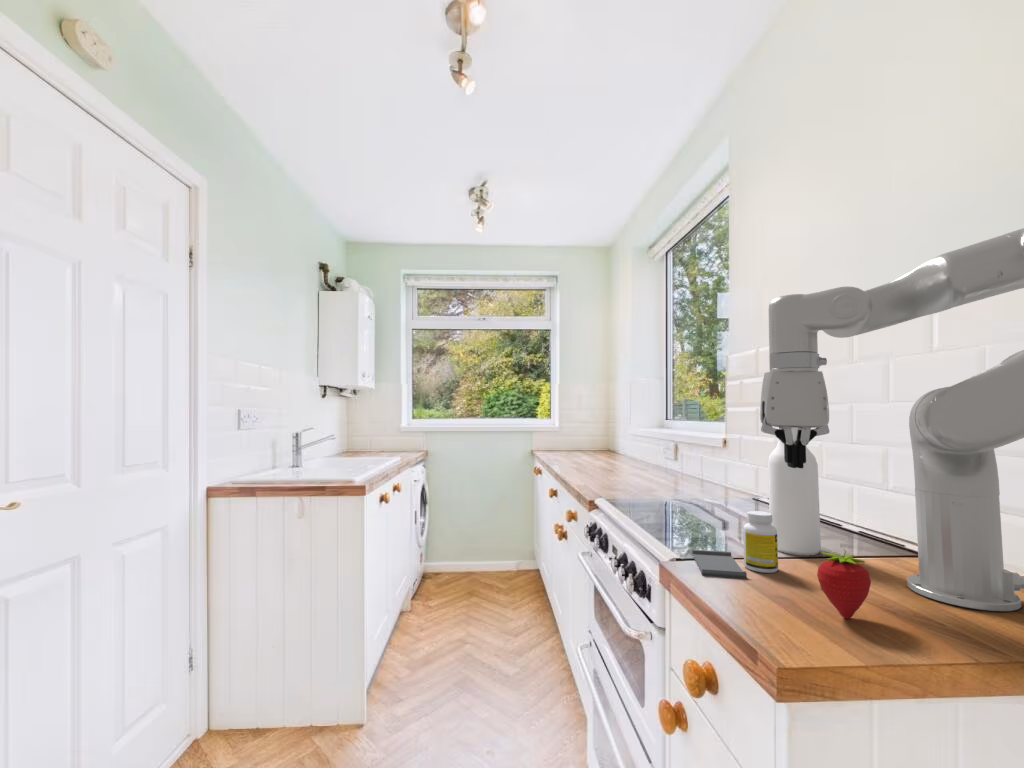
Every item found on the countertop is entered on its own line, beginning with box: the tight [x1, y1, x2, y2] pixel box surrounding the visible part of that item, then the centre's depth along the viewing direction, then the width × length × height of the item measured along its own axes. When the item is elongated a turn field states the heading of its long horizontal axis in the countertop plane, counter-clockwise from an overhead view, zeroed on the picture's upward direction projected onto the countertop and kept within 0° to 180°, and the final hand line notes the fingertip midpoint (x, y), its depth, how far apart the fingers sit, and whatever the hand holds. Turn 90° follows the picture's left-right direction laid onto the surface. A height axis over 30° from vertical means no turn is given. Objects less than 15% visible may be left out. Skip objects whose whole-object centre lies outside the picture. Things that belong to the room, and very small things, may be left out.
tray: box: [691, 549, 748, 579], centre depth 87 cm, size 7×12×1 cm, turn 167°
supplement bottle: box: [743, 510, 779, 574], centre depth 85 cm, size 5×5×10 cm
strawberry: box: [816, 550, 872, 620], centre depth 65 cm, size 6×8×10 cm
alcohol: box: [767, 427, 822, 557], centre depth 97 cm, size 9×9×30 cm
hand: (795, 467), depth 85 cm, fingers closed
